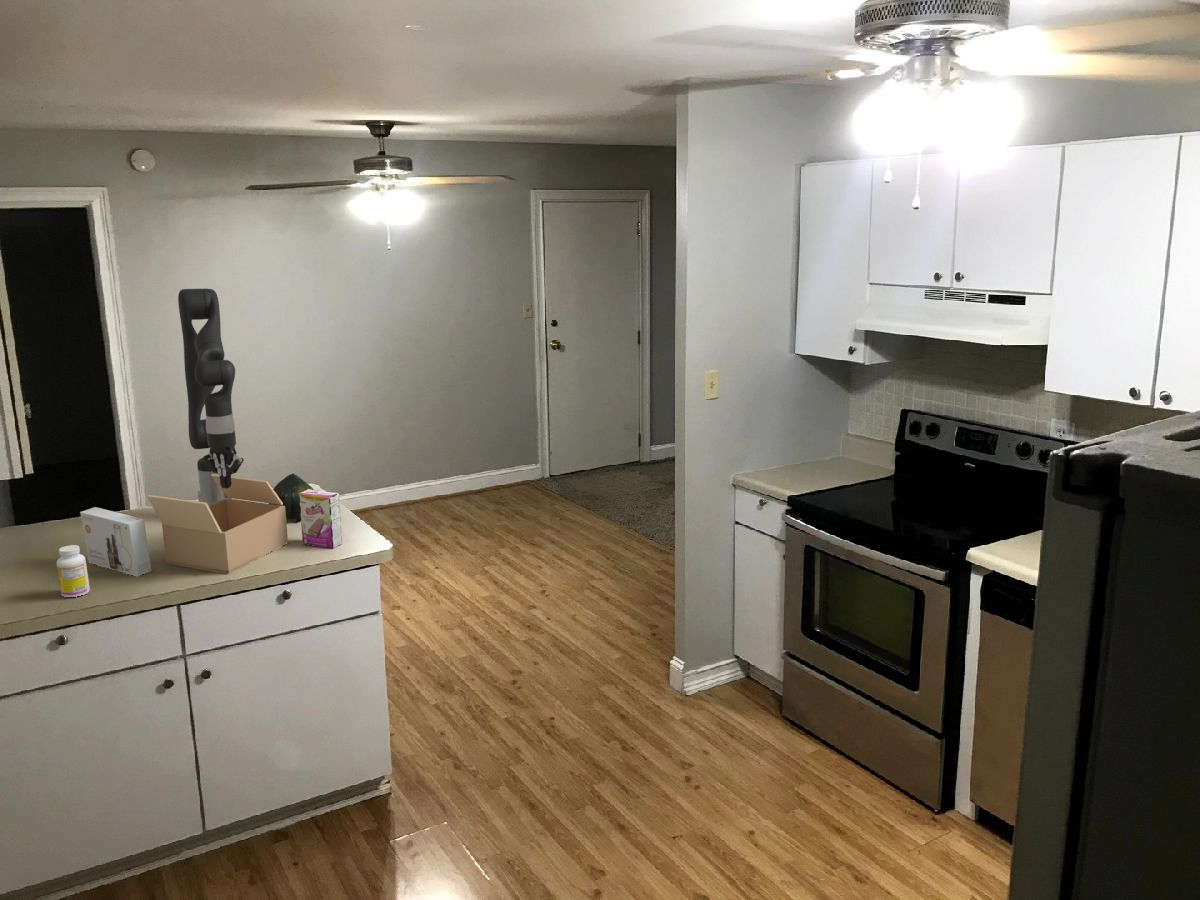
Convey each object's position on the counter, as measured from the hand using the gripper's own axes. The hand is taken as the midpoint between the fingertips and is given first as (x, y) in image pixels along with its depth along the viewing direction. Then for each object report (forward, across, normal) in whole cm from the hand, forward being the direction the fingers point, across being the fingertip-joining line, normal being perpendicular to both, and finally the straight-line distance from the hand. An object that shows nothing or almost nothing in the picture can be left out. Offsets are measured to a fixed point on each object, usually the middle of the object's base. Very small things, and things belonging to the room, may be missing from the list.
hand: (226, 487), depth 274 cm
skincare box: (+20, -20, -22) cm, 36 cm away
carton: (+20, 0, -2) cm, 20 cm away
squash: (+20, -3, +32) cm, 38 cm away
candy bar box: (+20, +21, +14) cm, 32 cm away
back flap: (+3, 0, +8) cm, 8 cm away
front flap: (+2, 0, -17) cm, 17 cm away
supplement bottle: (+20, -16, -40) cm, 48 cm away
